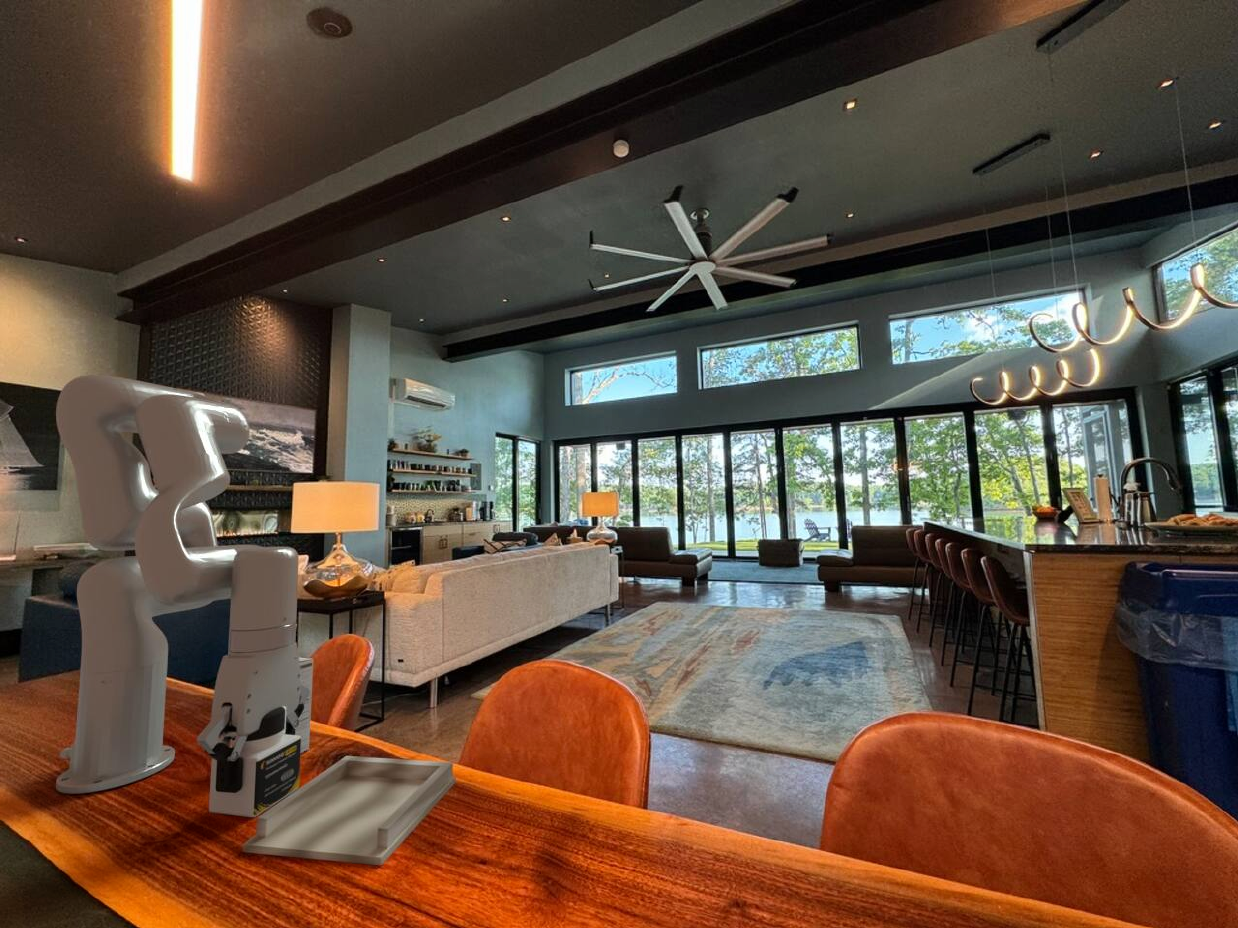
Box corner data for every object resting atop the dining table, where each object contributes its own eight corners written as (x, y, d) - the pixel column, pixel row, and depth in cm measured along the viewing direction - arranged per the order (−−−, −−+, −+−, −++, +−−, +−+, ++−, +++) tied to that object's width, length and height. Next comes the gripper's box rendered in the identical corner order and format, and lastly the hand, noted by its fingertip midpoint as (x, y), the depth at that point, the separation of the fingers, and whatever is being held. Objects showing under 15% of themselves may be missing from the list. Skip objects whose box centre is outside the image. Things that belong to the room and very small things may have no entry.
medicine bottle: (254, 818, 64) (258, 718, 65) (207, 813, 65) (212, 715, 67) (300, 788, 71) (303, 698, 72) (257, 783, 72) (261, 695, 73)
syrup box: (249, 760, 79) (254, 663, 81) (287, 744, 85) (290, 653, 86) (274, 766, 77) (279, 667, 79) (311, 749, 83) (314, 656, 84)
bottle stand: (242, 851, 58) (243, 825, 58) (345, 774, 74) (345, 754, 75) (381, 865, 55) (382, 837, 55) (455, 782, 72) (455, 761, 72)
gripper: (288, 624, 79) (284, 743, 78) (175, 655, 62) (166, 809, 60) (332, 625, 78) (328, 745, 76) (229, 657, 61) (221, 813, 59)
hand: (257, 773), depth 69 cm, fingers open, 7 cm apart
